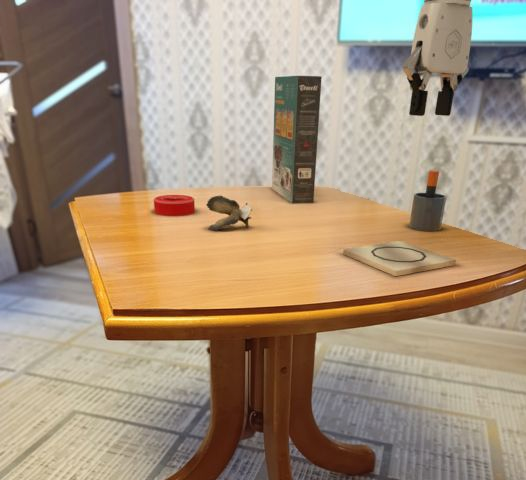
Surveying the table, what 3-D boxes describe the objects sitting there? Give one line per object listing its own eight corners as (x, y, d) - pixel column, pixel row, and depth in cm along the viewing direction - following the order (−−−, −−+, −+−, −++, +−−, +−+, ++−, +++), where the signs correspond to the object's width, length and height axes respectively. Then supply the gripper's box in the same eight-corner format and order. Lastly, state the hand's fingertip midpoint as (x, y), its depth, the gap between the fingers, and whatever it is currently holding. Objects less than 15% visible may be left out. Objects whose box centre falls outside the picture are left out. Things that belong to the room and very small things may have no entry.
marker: (425, 223, 115) (434, 170, 110) (432, 225, 114) (441, 171, 108) (418, 224, 114) (427, 170, 109) (425, 226, 113) (434, 171, 108)
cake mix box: (313, 202, 137) (321, 76, 123) (291, 203, 136) (297, 75, 122) (291, 188, 156) (296, 77, 142) (271, 188, 155) (275, 76, 141)
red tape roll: (160, 217, 118) (159, 203, 116) (150, 208, 125) (149, 195, 124) (200, 214, 121) (199, 200, 120) (188, 206, 129) (187, 193, 128)
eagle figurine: (241, 216, 115) (203, 210, 112) (252, 192, 110) (211, 185, 106) (246, 241, 111) (207, 236, 108) (257, 218, 106) (216, 212, 102)
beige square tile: (399, 245, 100) (400, 240, 100) (455, 265, 89) (456, 259, 89) (342, 254, 94) (343, 248, 93) (395, 276, 83) (396, 270, 83)
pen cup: (424, 222, 118) (429, 191, 115) (447, 229, 113) (453, 197, 110) (402, 225, 115) (407, 193, 112) (424, 232, 110) (430, 199, 107)
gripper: (428, -13, 78) (410, 116, 86) (500, -2, 86) (477, 116, 94) (393, -6, 84) (380, 114, 92) (464, 4, 92) (446, 114, 100)
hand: (429, 114), depth 93 cm, fingers open, 5 cm apart
